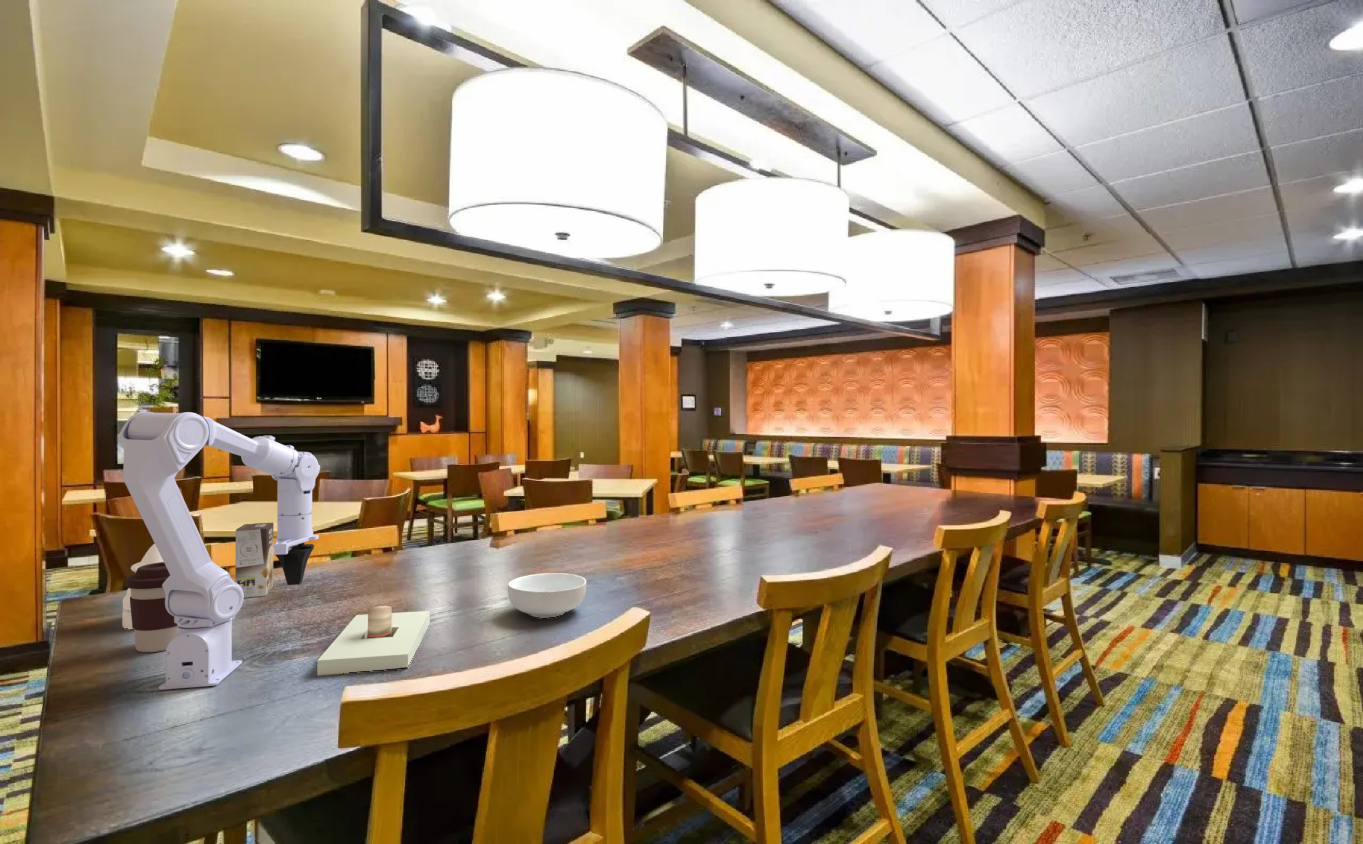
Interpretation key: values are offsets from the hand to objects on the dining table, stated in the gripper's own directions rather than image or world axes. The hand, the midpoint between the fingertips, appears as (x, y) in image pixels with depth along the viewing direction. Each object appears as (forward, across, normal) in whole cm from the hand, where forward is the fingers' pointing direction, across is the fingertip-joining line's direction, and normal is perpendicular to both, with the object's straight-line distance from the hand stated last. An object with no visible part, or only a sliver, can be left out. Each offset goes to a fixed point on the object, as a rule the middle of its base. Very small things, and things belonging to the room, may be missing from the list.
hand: (294, 584), depth 121 cm
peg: (+10, -8, -17) cm, 21 cm away
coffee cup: (+11, 0, +22) cm, 24 cm away
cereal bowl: (+11, +6, -48) cm, 50 cm away
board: (+10, -8, -17) cm, 21 cm away
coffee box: (+11, +35, +20) cm, 42 cm away
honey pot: (+11, +17, +30) cm, 36 cm away
